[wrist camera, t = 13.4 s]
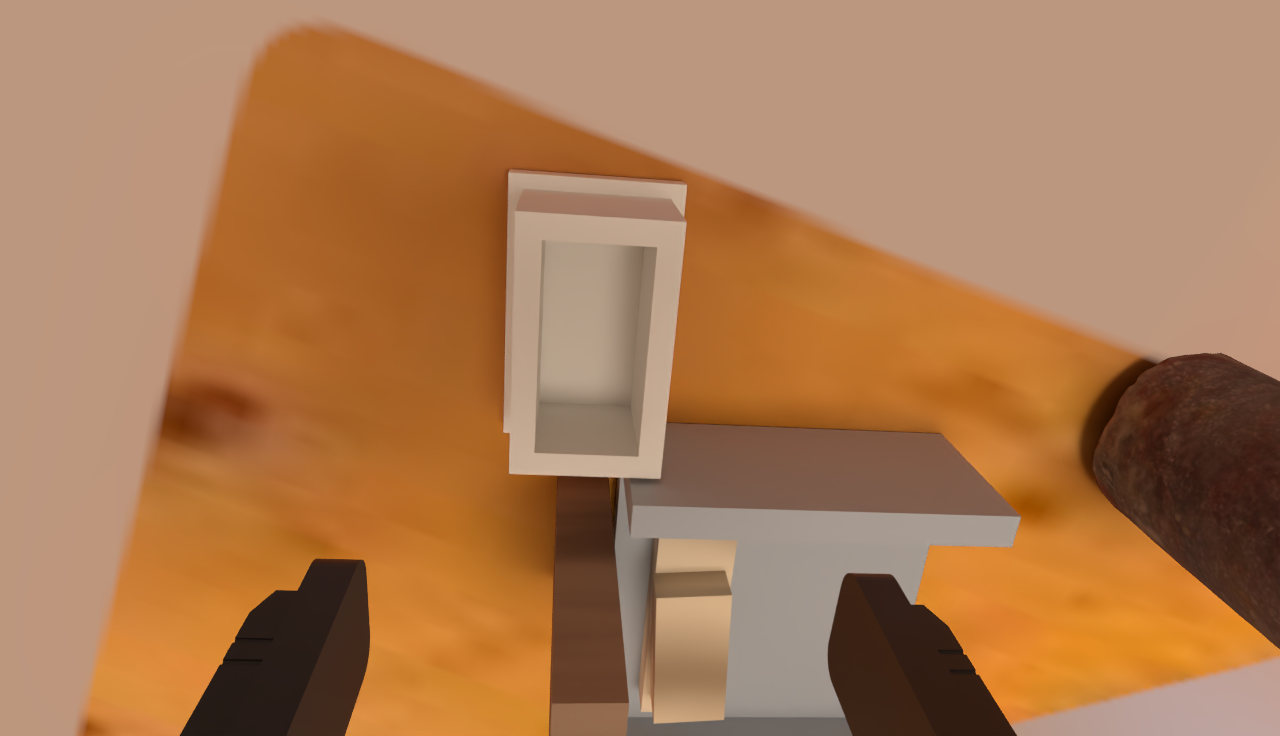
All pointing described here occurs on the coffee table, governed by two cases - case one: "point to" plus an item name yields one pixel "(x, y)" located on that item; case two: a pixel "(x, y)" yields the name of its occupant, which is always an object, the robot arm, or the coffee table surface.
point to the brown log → (1203, 475)
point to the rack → (793, 550)
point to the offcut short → (689, 646)
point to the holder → (590, 321)
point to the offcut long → (679, 559)
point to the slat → (586, 616)
